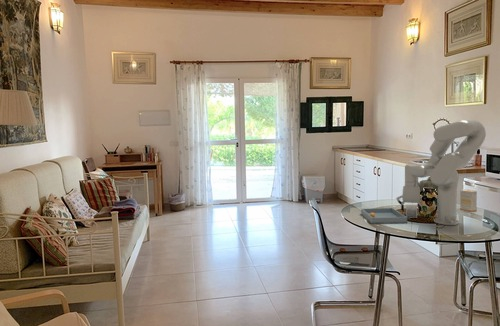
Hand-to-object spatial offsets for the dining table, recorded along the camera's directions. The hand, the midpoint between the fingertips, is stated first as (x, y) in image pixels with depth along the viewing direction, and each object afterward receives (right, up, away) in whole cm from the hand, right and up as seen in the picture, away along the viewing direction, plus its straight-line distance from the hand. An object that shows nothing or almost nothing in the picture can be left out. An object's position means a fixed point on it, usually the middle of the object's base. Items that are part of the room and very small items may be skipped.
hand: (411, 211), depth 219 cm
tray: (-19, -4, -3) cm, 19 cm away
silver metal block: (0, -3, 0) cm, 3 cm away
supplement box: (+41, -1, +9) cm, 42 cm away
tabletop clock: (+25, 0, +24) cm, 35 cm away
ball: (-26, -2, -5) cm, 27 cm away
